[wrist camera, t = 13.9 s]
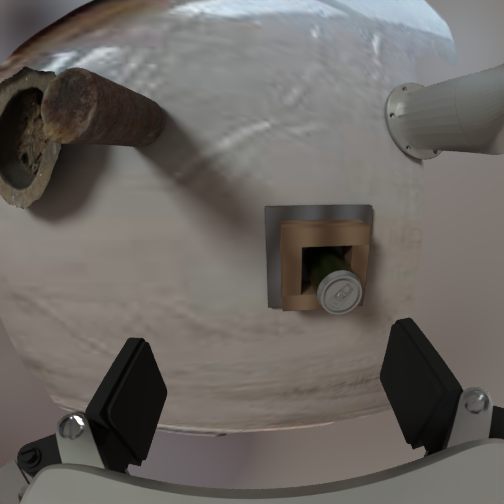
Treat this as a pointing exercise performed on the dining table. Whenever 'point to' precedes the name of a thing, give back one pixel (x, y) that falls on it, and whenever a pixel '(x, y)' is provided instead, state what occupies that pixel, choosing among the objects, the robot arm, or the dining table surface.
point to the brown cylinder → (98, 112)
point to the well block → (312, 235)
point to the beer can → (332, 280)
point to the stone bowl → (24, 138)
